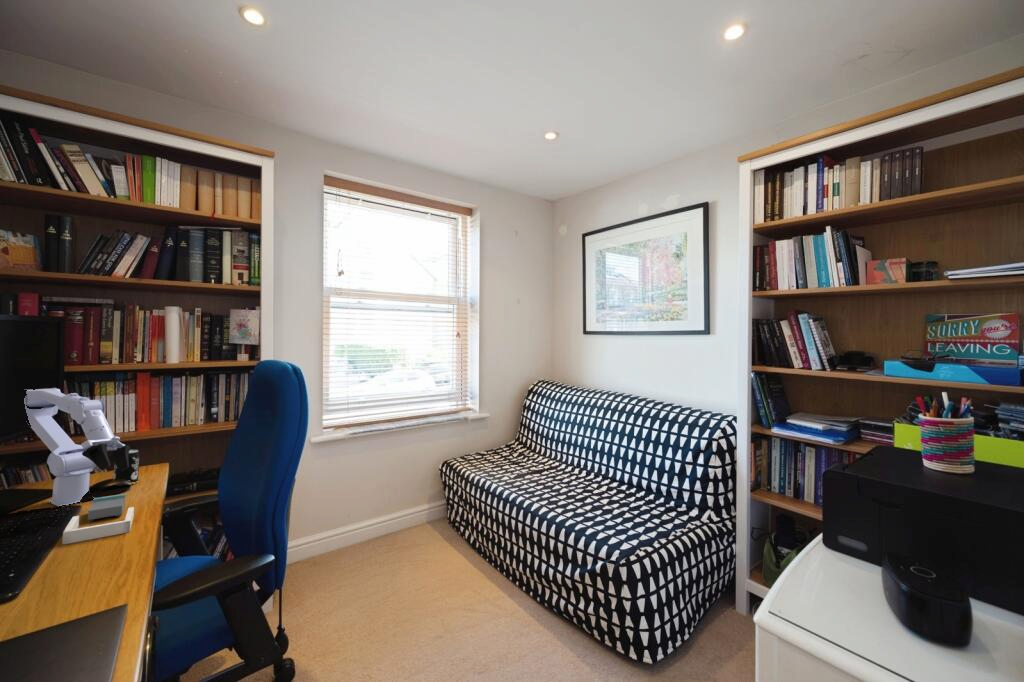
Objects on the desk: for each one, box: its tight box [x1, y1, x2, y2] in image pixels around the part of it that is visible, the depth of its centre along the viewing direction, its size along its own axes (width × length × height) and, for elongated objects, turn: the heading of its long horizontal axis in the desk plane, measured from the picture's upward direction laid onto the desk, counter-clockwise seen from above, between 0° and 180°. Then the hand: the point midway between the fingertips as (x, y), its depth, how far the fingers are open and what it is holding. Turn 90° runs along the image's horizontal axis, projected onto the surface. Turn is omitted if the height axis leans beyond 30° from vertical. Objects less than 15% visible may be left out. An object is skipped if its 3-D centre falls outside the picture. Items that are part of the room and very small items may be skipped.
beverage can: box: [113, 449, 140, 483], centre depth 149 cm, size 7×7×12 cm
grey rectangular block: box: [87, 493, 127, 522], centre depth 122 cm, size 10×7×4 cm
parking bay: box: [61, 506, 135, 546], centre depth 111 cm, size 13×12×3 cm
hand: (115, 468), depth 127 cm, fingers open, 7 cm apart
